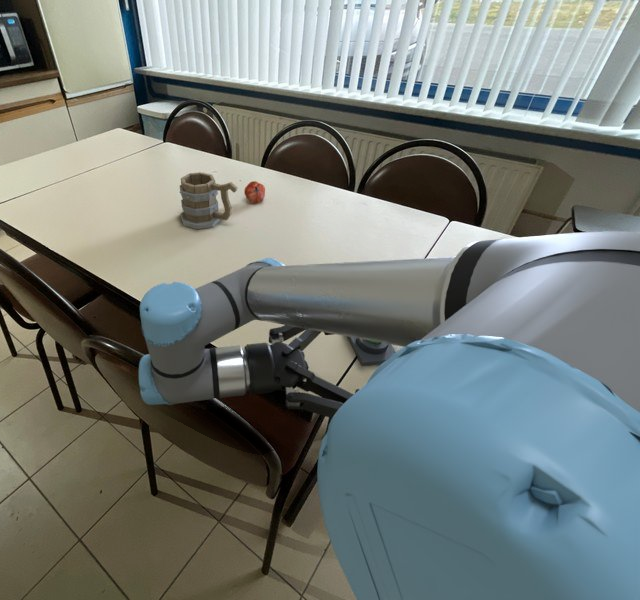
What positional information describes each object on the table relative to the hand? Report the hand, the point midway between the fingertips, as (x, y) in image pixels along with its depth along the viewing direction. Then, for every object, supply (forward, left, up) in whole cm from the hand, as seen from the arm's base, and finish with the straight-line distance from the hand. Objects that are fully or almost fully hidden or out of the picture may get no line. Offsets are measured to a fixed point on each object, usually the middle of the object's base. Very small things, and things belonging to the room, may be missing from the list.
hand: (379, 355), depth 57 cm
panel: (+15, -9, -16) cm, 24 cm away
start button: (+15, -9, -13) cm, 22 cm away
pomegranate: (+87, +5, -16) cm, 89 cm away
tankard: (+74, +22, -16) cm, 79 cm away
